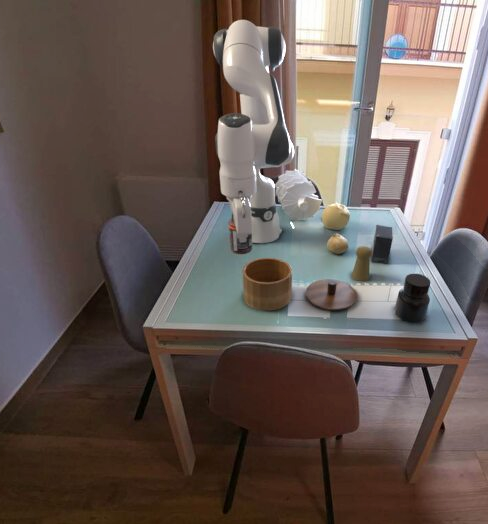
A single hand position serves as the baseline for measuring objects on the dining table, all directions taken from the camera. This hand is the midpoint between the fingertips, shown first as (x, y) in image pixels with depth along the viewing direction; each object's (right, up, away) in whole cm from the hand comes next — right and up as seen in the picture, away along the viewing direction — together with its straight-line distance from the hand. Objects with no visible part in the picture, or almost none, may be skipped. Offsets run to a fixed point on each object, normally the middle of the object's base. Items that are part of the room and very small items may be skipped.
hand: (241, 234), depth 96 cm
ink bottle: (+48, -23, +10) cm, 54 cm away
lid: (+26, -18, +16) cm, 35 cm away
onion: (+30, -3, +42) cm, 51 cm away
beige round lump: (+31, +8, +61) cm, 68 cm away
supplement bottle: (0, -4, +2) cm, 5 cm away
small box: (+46, -5, +40) cm, 61 cm away
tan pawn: (+37, -12, +27) cm, 47 cm away
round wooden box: (+6, -18, +15) cm, 24 cm away
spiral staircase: (+14, +16, +73) cm, 76 cm away
